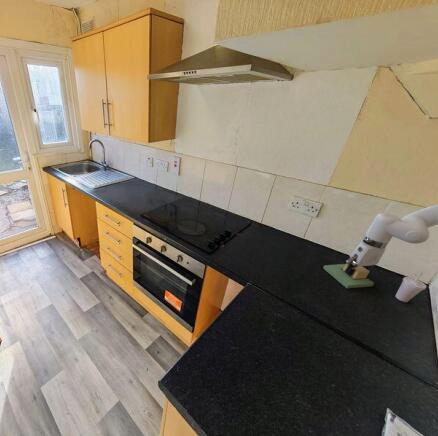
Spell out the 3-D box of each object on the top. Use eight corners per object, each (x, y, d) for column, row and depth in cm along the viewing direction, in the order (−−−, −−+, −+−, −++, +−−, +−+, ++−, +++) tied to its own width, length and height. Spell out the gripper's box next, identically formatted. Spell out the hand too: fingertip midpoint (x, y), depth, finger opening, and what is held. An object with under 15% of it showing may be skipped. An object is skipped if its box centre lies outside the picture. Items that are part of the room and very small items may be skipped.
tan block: (353, 269, 108) (357, 262, 106) (365, 278, 102) (370, 271, 101) (342, 270, 107) (346, 263, 105) (354, 279, 102) (358, 272, 100)
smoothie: (408, 297, 96) (430, 272, 89) (414, 307, 91) (437, 282, 84) (388, 290, 99) (408, 266, 92) (392, 300, 94) (413, 275, 87)
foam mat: (346, 266, 112) (348, 263, 111) (372, 286, 100) (374, 283, 99) (322, 268, 110) (324, 265, 109) (346, 288, 99) (348, 285, 98)
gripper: (365, 247, 91) (345, 280, 100) (401, 245, 93) (378, 277, 102) (348, 237, 98) (331, 269, 107) (382, 235, 100) (362, 266, 109)
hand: (354, 273), depth 104 cm, fingers closed on tan block, 5 cm apart
